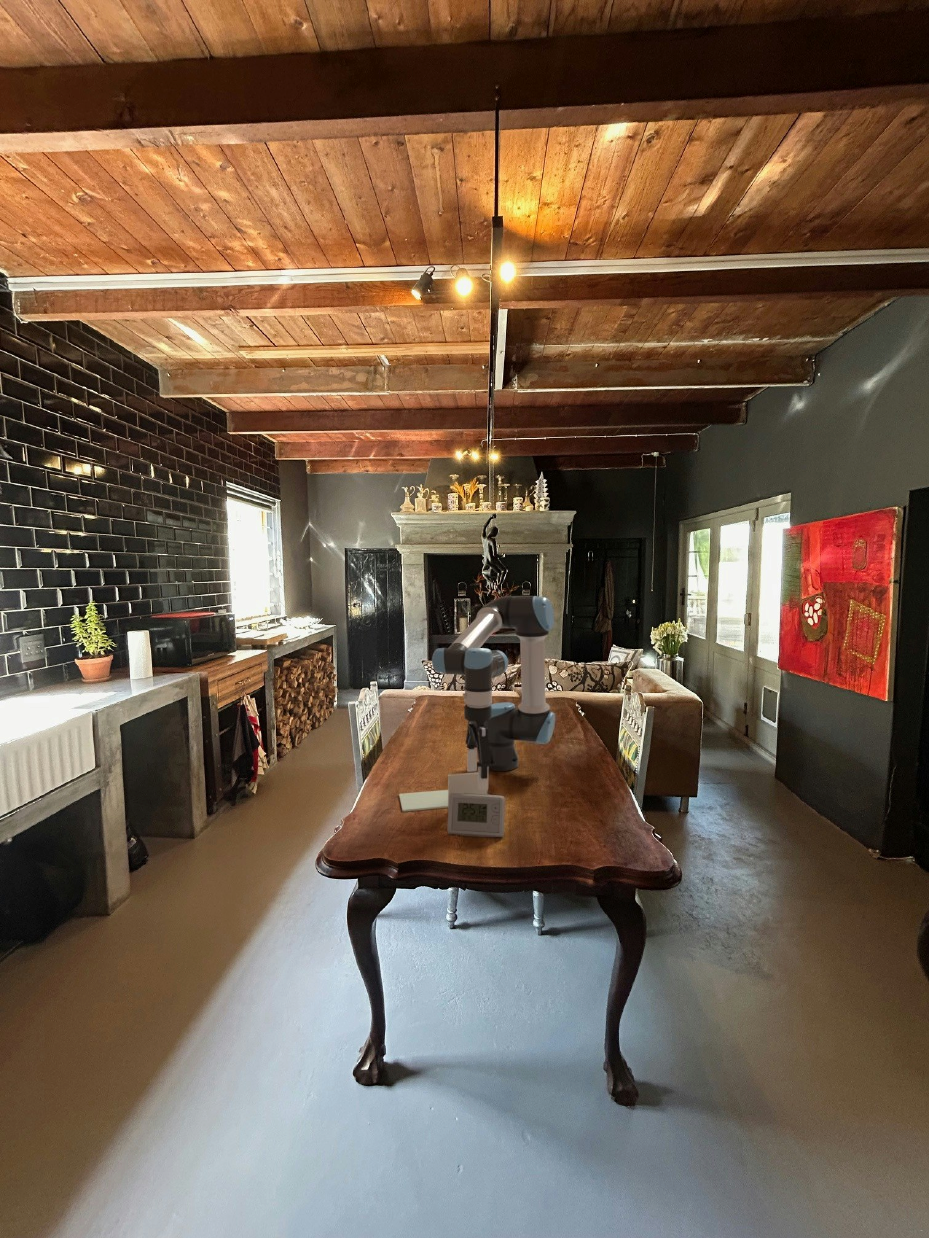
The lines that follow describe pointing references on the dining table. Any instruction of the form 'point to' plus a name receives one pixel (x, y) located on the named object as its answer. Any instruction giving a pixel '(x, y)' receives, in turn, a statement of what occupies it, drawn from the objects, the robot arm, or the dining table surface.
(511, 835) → the dining table surface
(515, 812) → the dining table surface
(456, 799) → the digital clock
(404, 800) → the mat
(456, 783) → the screen
